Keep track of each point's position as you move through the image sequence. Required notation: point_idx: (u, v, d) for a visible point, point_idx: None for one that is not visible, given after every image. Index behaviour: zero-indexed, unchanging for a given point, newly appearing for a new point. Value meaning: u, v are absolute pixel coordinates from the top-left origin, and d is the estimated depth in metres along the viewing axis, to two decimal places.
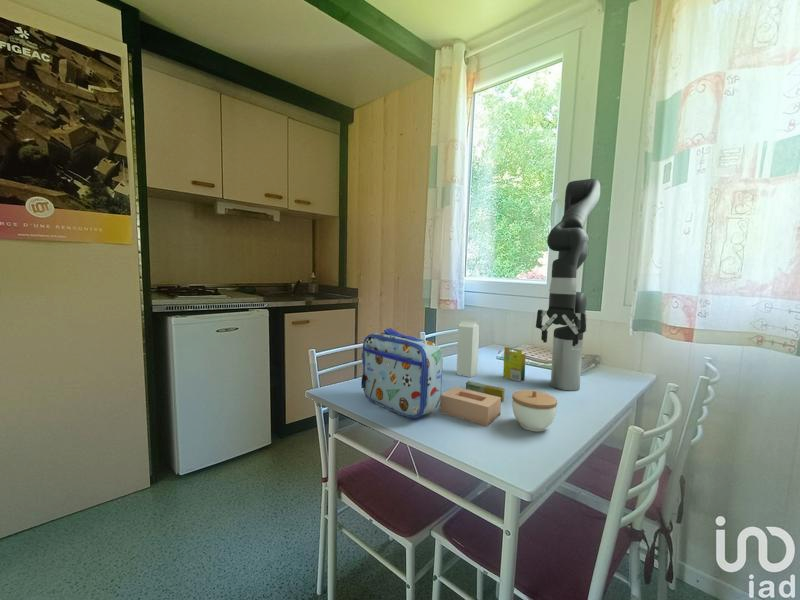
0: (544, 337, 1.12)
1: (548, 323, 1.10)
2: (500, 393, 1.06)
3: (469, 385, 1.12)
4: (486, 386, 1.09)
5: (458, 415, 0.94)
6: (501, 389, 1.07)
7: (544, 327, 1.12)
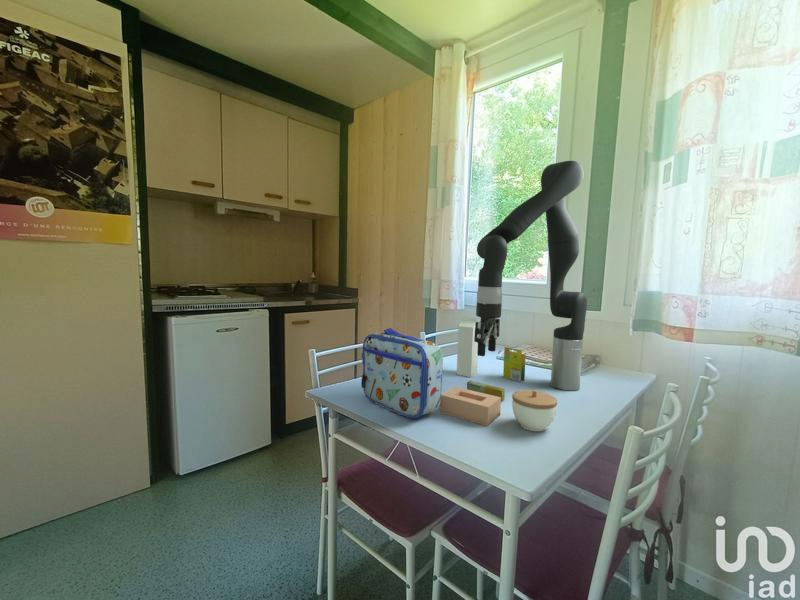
0: (484, 350, 1.05)
1: (488, 335, 1.05)
2: (499, 393, 1.06)
3: (470, 384, 1.13)
4: (486, 386, 1.10)
5: (458, 415, 0.94)
6: (501, 389, 1.07)
7: (485, 340, 1.04)
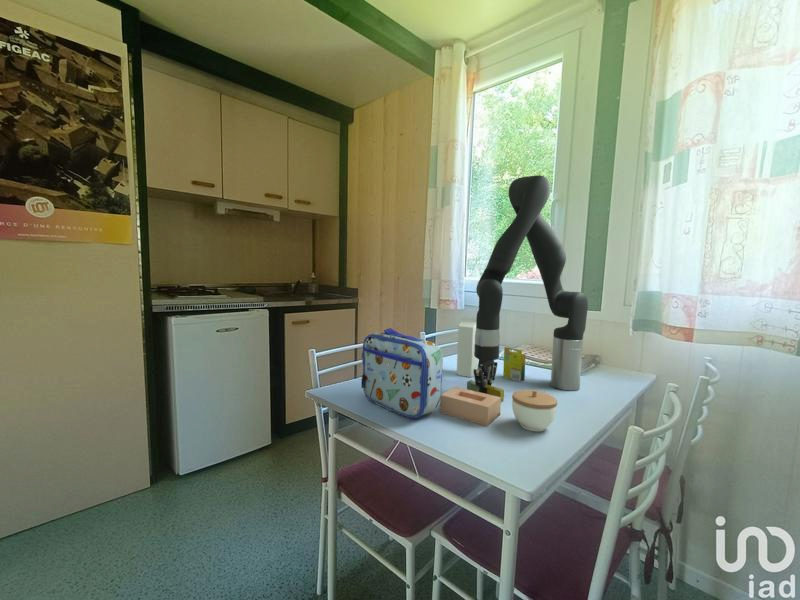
0: (486, 393, 1.08)
1: (488, 378, 1.08)
2: (498, 393, 1.06)
3: (470, 384, 1.13)
4: None
5: (458, 415, 0.94)
6: (500, 389, 1.07)
7: (486, 384, 1.08)
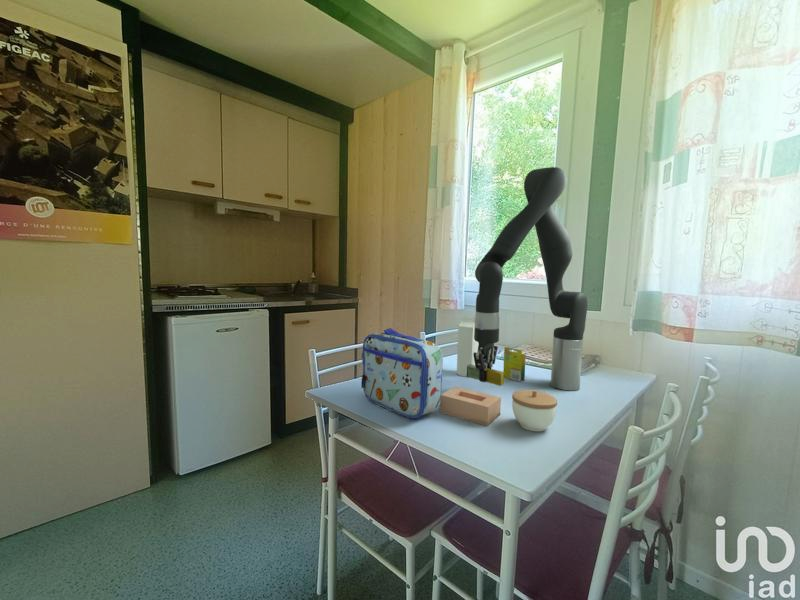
0: (486, 377, 1.09)
1: (488, 361, 1.08)
2: (499, 376, 1.06)
3: (470, 368, 1.13)
4: None
5: (458, 415, 0.94)
6: (500, 372, 1.07)
7: (486, 367, 1.08)
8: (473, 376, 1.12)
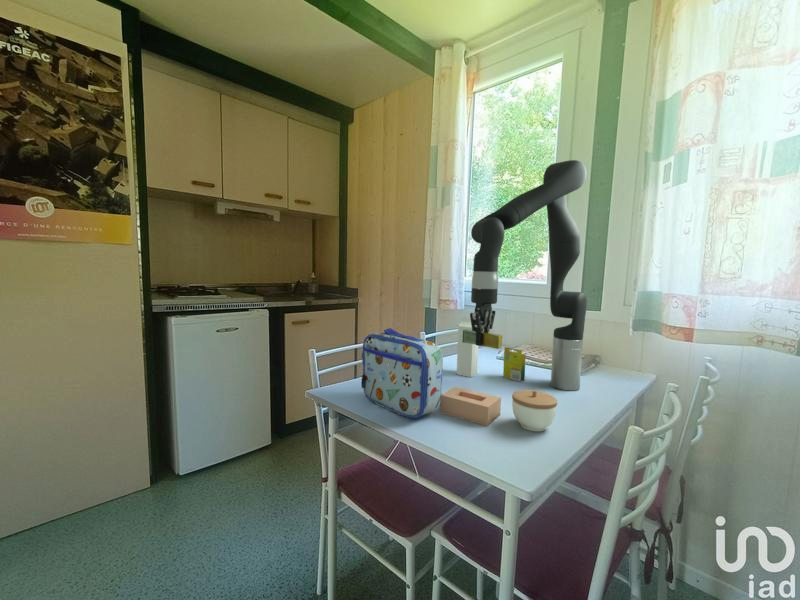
0: (483, 340, 1.03)
1: (485, 323, 1.02)
2: (496, 338, 1.01)
3: (466, 332, 1.07)
4: None
5: (458, 415, 0.94)
6: (498, 335, 1.01)
7: (483, 329, 1.03)
8: (469, 341, 1.06)
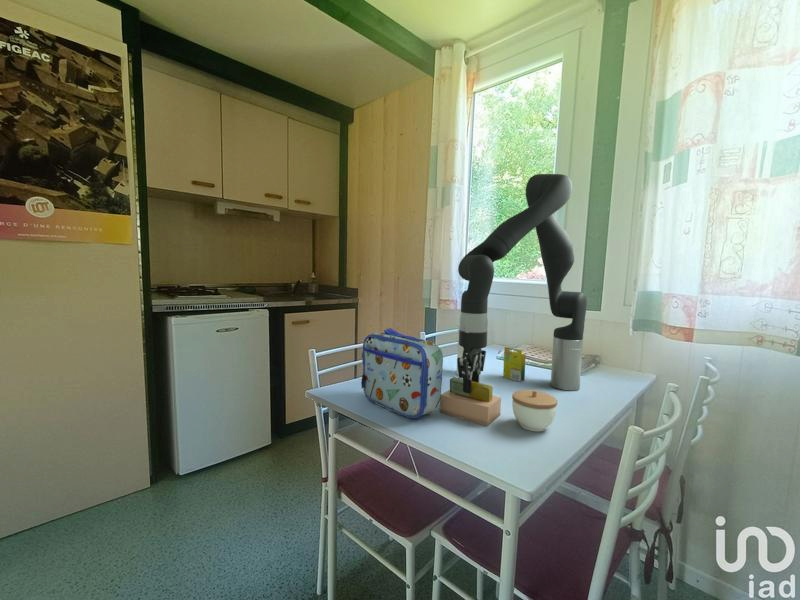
0: (471, 387, 0.94)
1: (474, 369, 0.94)
2: (486, 391, 0.92)
3: (453, 381, 0.99)
4: (472, 383, 0.96)
5: (458, 415, 0.94)
6: (488, 386, 0.93)
7: (471, 376, 0.94)
8: (457, 391, 0.98)
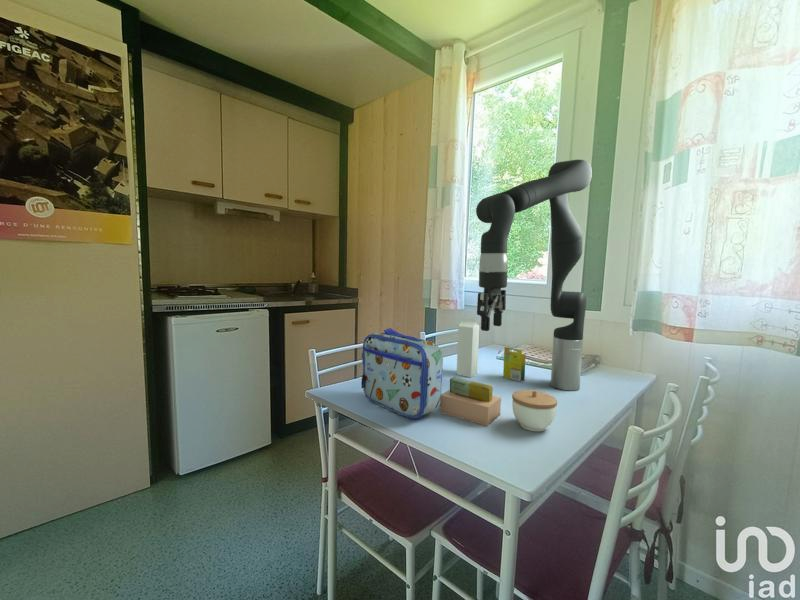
0: (489, 325, 0.94)
1: (493, 307, 0.94)
2: (486, 391, 0.92)
3: (453, 381, 0.99)
4: (472, 383, 0.96)
5: (458, 415, 0.94)
6: (488, 386, 0.93)
7: (489, 313, 0.93)
8: (457, 391, 0.98)
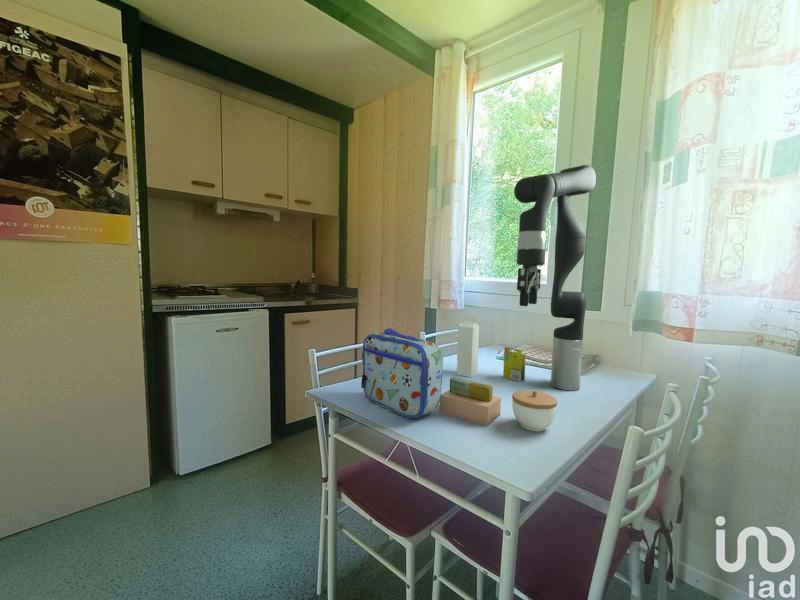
0: None
1: (532, 283, 0.97)
2: (486, 391, 0.92)
3: (453, 381, 0.99)
4: (472, 383, 0.96)
5: (458, 415, 0.94)
6: (488, 386, 0.93)
7: (528, 288, 0.96)
8: (457, 391, 0.98)
